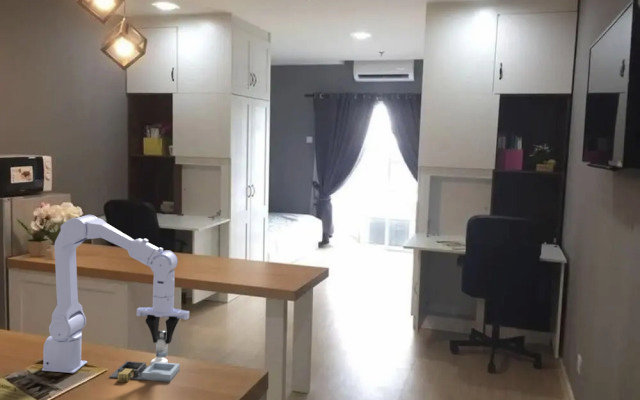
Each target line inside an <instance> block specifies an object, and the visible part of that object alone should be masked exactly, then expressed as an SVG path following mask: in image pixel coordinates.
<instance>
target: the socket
mask: <svg viewBox="0 0 640 400" xmlns="http://www.w3.org/2000/svg"><path fill="white" fill-rule="evenodd" d="M148 366H149V365H147V362H143V361H131V360H126V361H125V362H124V363H123V364H122V365H120V366H119V367H118V368H117V369H116V370H114V372H113V373H112V374H110V375H109V378H111V379H118V373H119V372H122V371H123V370H124V369H125V368H127V369H133V376H132V377H131V378H130V380H131V381H132V380H133V381H143V380H142V372H143V371H144V370H145V369H146V368H147V367H148Z"/></svg>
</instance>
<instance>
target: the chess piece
mask: <svg viewBox="0 0 640 400" xmlns="http://www.w3.org/2000/svg"><path fill="white" fill-rule="evenodd" d="M168 361H169V360H168V359H167V358H166V357H157V356H156V357H155V358H153V359H151V361H150V364H151V363H152V362H165V363H169V362H168Z"/></svg>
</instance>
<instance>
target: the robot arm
mask: <svg viewBox="0 0 640 400" xmlns="http://www.w3.org/2000/svg"><path fill="white" fill-rule="evenodd" d="M91 239H92V240H93V239H103V240H105V241H106V242H107V241H108V242H109V243H111V244H114V245H116V246H118V247H120V248H122V249H125V250H127V253H128V255H129V257H130V258H132V259H134V260H136V261H138V262H140V263H141V264H143V265H145V266H147V267H150V270H151V272H152V274H153V281H152V283H153V285H152V307H138V308H136V317H146V319H145V323H146V325H147V326H148V328H149V331H150V334H151V337H152V338H151V339H152V343H153V344H156V338H157V337H158V331H159V327H160V321H161V320H160V318H167V319H166V320H165V327H166V331H167V335H166V344H168V345H169V344H170V343H171V342H172V339H173V335H174V332H175V329H176V327H177V324H178V322H179V321H180V319H182V320H184V321H186V320H189V318H190V310H184V309H179V308H174V307H175V274H176V273H175V272H176V271H175V270H176V267H177V266H178V262H179V261H178V257H177V255H176V254H175V253H174V252H173V251H172V250H164V248H163V247H158V246H156V245H154V244H152V243H150V242H149V239H148V238H136V239H134V238H132V237H131V236H129V235H127V234H126V233H123V232H122V231H121V230H119V229H117V228H115V227H114V226H112V225H110V224H109V223H107V221H105V220H104V219H102V218H99V217H97V216H96V215H93V214H85V215H83V216H79V217H72V218H70V219H68V220H66V221H65V222H64V223H62V224H61V225H60V231H59V233H58V235H57V237H56V238H55V241H54V263H55V265H54V266H55V287H56V288H55V289H56V307H55V308H54V310H53V312H52V313H51V322H50V323H49V326H48V332H49V334H50V335H49V336H48V337H47V338H46V340H45V341H44V344H43V349H42V350H43V352H42V353H43V354H42V355H43V359H42V361H43V363H42V365H43V367H42V368H41V371H44V372H55V373H57V372H58V373H69V374H75V373H76V372H77V371H79V369H81V368H82V367H84V366H85V365H86V364H87V363H88V361H87V360H82V338H83V337H82V335H83V334H82V333H83V331H82V330H83V329H84V328H85V326H86V324H87V317H86V315H85V313H84V310H83V305H82V304H81V303H80V302H79V294H78V273H77V272H78V268H77V248H78V247H79V246H80V245H82V244H83V242H85V240H91Z"/></svg>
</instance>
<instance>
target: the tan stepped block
mask: <svg viewBox="0 0 640 400" xmlns="http://www.w3.org/2000/svg"><path fill="white" fill-rule="evenodd" d="M133 370H134V369H127V368H125V369H124V370H123V371H122V372H119V373H118V378H117V381H118V382H124V383H128V382H130V380H131V377H132V376H133Z"/></svg>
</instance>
